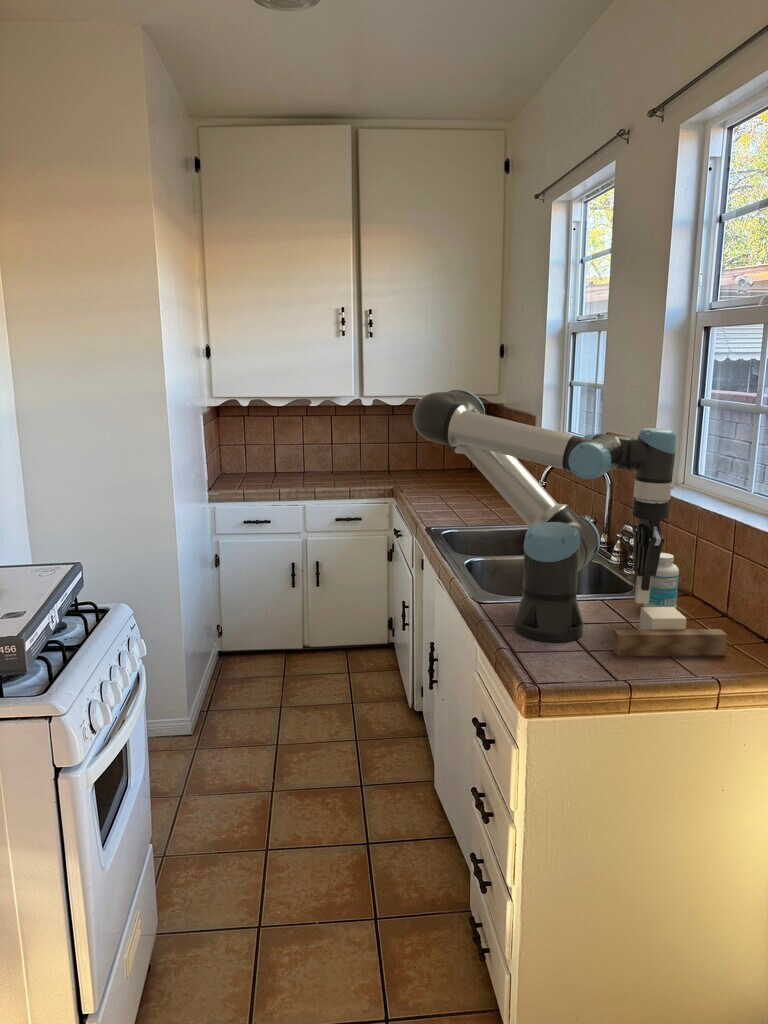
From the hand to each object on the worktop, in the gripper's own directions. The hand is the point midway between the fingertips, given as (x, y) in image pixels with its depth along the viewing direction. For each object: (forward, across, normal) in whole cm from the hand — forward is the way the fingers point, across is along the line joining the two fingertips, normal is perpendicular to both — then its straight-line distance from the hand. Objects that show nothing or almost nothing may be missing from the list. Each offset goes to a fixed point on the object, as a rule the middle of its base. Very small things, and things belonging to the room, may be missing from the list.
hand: (641, 602), depth 165 cm
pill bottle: (+6, +11, -8) cm, 15 cm away
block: (+6, -11, -1) cm, 12 cm away
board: (+5, -16, -1) cm, 17 cm away
